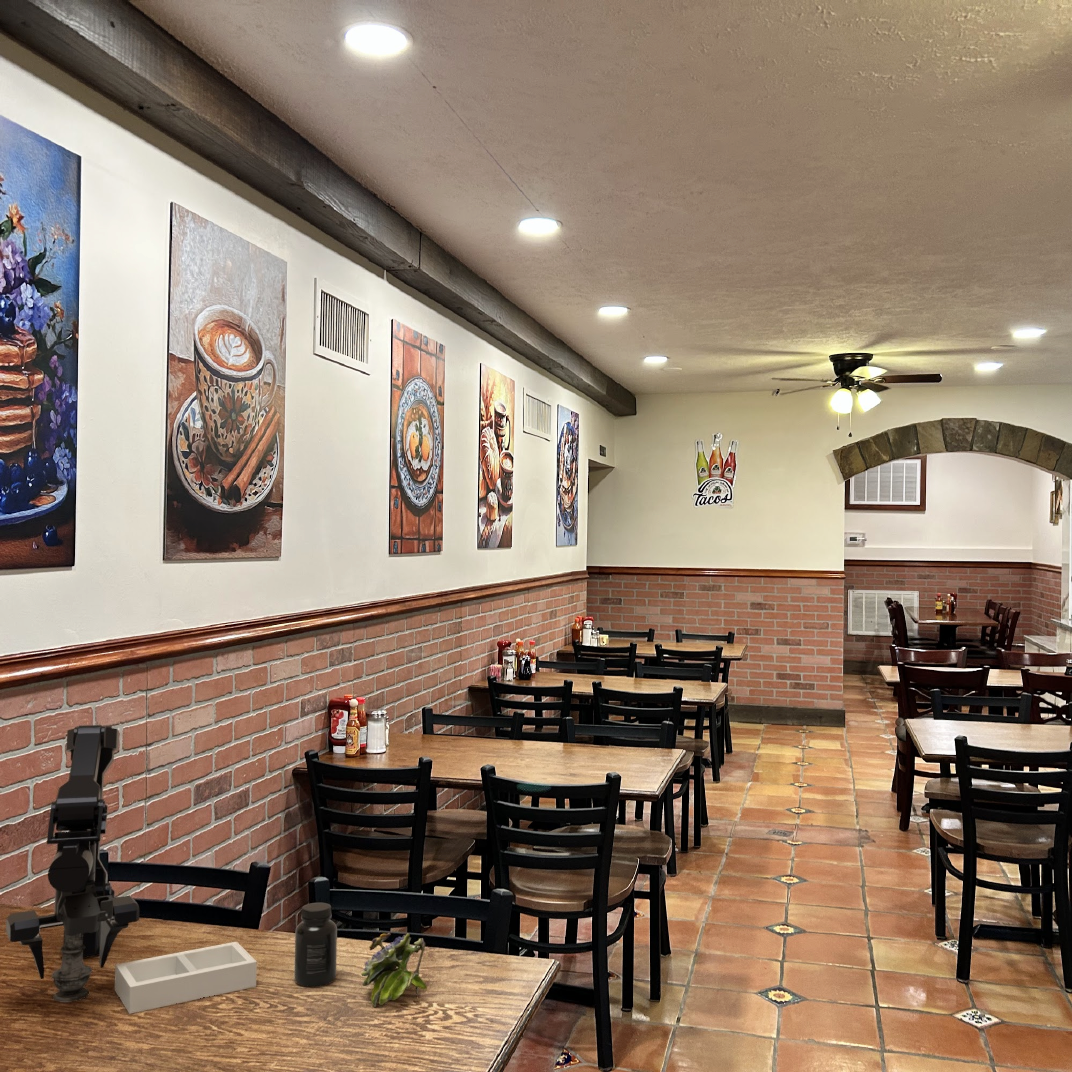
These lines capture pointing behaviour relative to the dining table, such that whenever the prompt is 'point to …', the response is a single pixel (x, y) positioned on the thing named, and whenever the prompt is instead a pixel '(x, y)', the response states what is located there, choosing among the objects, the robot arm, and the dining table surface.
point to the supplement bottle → (315, 946)
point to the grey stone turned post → (72, 971)
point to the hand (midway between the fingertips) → (72, 972)
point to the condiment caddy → (184, 976)
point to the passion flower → (392, 968)
